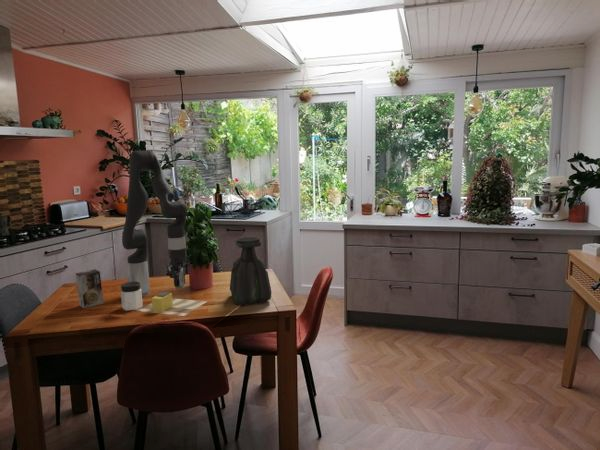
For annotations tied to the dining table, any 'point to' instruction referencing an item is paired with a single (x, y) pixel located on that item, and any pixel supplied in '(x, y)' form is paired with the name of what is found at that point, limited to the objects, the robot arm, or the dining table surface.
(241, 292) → the dark grey vase
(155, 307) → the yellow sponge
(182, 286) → the peg
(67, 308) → the dining table surface
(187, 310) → the panel
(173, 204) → the robot arm
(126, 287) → the jar
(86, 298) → the coffee box
